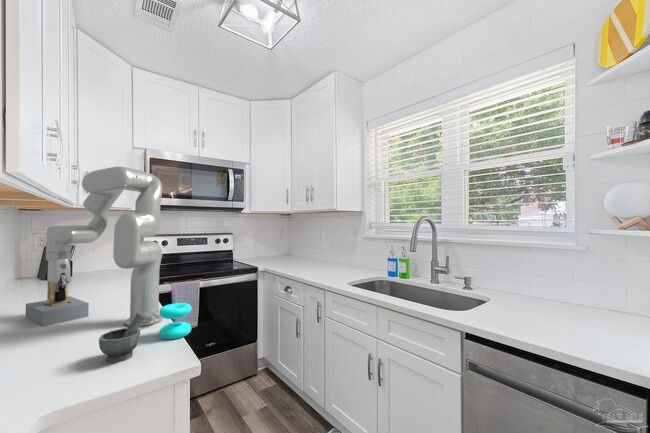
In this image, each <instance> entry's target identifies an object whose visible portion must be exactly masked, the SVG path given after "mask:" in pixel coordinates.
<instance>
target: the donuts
mask: <svg viewBox="0 0 650 433" xmlns="http://www.w3.org/2000/svg"><path fill="white" fill-rule="evenodd" d="M191 312H192V305H191V304H189V303H186V302H178V303H176V302H175V303H170V304H166V305H163V306H162V307H161V308H159V314H160V316H161V317H163V319H167V320H175V319H181V318H184V317H186V316H188V315H189V314H190V313H191ZM191 332H192V326H191V324H190V323H188V322H185V321H174V322H170V323H167V324H165V325H163V326H162V327H161V328H160V329H159V332H158V335H159V336H158V337H160V338H162V339H164V340H176V339H181V338H183V337H186V336H188V335H189V334H190V333H191ZM182 336H183V337H182Z"/></svg>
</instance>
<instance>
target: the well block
mask: <svg viewBox="0 0 650 433" xmlns="http://www.w3.org/2000/svg"><path fill="white" fill-rule="evenodd" d="M89 308H90V307H89V302H87V301H84V300H81V299H79V298H75V297H73V296H70V295H68V303H67V304H62V305H56V306H51V307H48V306H47V299H46V300H45V299H44V300H40V301H35V302H28V303H25V318H26V319H28V320H30V321H31V322H33V323H35V324H36V325H39V326H40V327H43V328H44V327H48V326H51V325H52V326H53V325H56V324H60V323H65V322H69V321H74V320H78V319H82V318H86V317H87V318H88V317H89Z"/></svg>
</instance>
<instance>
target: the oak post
mask: <svg viewBox="0 0 650 433" xmlns="http://www.w3.org/2000/svg"><path fill="white" fill-rule="evenodd" d="M60 283H61V282H58V284H60ZM66 283H67V282H66ZM59 286H61V285H59ZM55 292H56V285H55V284H54V283H52V282H48V281H47V292H46V293H47V298H46V300H47V306H48V307H51V306H56V305H62V304H67V303H68V297H69V295H68V294H69V283H67V285H66V300H65V301H59V302H55Z"/></svg>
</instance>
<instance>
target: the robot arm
mask: <svg viewBox="0 0 650 433" xmlns="http://www.w3.org/2000/svg"><path fill="white" fill-rule="evenodd" d="M81 186H82V189H83V190H84V191H85V192H87V193H89V194H88V195H87V197H86V198H85V199H84V201H83V202H82V203H83V204H82V206H83V207H84V208H85V210H86V211H88V212H89V213H91V214H93V217H92V219H91V221H90V222H89V224H87V225H85V224H84V225H83V224H81V225H80V224H79V225H77V224H76V225H50V226H48V227H47V228H46V241H45V243H46V244H45V246H46V247H45V248H46V249H45V261H48V262H47V275H46V276H47V283H48V282H52V283H54V284H55V285H56V292H55V302H59V301H65V300H66V285H67V283H68V284H69V283H71V262H70V259H71V258H72V256H71V252H72V251H71V250H72V248H71V247H72V245H77V244H88V243H89V244H90V243H93V242H96V241H97V240H99V238H100V237H101V235H103V233H104V232H105V230H106V229H107V227H108V223H109V222H108V221H109V220H108V219H109V217H108V212H109V210H110V209H111V208H112V206H113V205H114V203H115V202H116V201H117V200H118V198H119V197H120V195H121V194H122V193H123V192H124V191H130V192H138V193H139V194H138V196H137V198H136V200H135V205H134V206H135V207H134V212H127V213H124V214H122V215H121V216H118V218H117V220H116V221H115V224H114V230H113V231H114V232H113V234H114V235H113V252H112V254H113V261H114V263H115V265H116V266H118V268H121V269H124V270H125V269H132V271H131V276H130V297H129V299H130V300H129V301H130V302H129V305H130V307H129V318H127V319H126V320H125V321H124V325H125V326H127V327H129V326H130V324H131V323H132V321H133V320H134V318H135V315H136V313H143V314H145V315H146V317H145V318H144V319H143V320H142V322H141V324H140V326H139V327H144V326H145V327H146V326H149V325H155V324H157V323H159V322H161V321H162V320H163V319H164V318H163V317H161V316H160V314H159V311H160V307H159V306H160V305H159V304H160V302H159V301H160V300H159V299H160V297H159V296H160V267H161V264H162V263H161V262H162V257H163V249H162V247H161V245H160V244H159V243H158V242H156V241H152V240H141V239H144V238H152V237H155V236H156V235H158V233H159V231H160V225H161V224H160V222H161V201H162V196H163V185H162V181H161V180H160V179H159V178H158V177H157V175H156V176H155V175H154V174H153V173H150V172H147V171H145V170H144V171H143V170H141V169H135V168H130V167H126V166H113V167H111V166H110V167H107V168H101V169H97V170H93V171H90V172H88V173H86V174H85V175H84V176H83V178H82V180H81ZM58 282H61V283H60V284H58ZM66 282H67V283H66ZM59 285H61V286H59Z"/></svg>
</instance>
